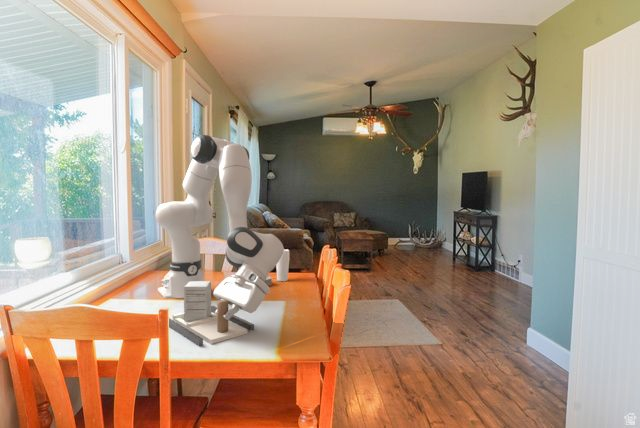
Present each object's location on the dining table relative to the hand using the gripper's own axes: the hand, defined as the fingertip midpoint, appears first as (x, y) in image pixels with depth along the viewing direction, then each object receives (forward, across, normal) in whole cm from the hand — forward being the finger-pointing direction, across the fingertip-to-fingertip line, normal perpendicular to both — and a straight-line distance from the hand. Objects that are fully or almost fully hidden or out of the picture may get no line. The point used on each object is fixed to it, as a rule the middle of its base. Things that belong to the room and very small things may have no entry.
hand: (220, 316), depth 111 cm
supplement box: (+4, -16, +5) cm, 17 cm away
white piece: (-36, -43, +45) cm, 72 cm away
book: (-26, -49, +36) cm, 66 cm away
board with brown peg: (+4, -9, +4) cm, 11 cm away
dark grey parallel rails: (+4, -10, +5) cm, 12 cm away
